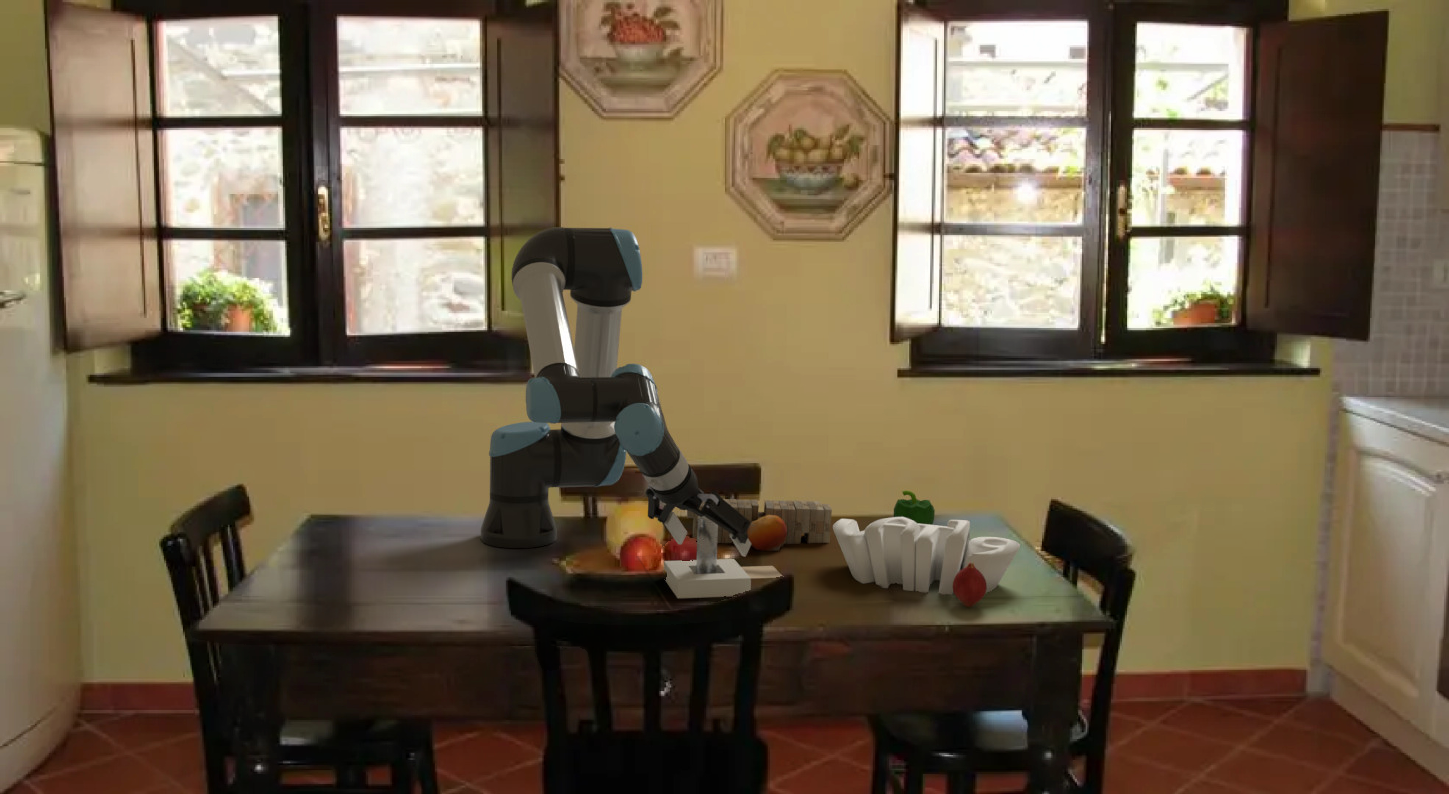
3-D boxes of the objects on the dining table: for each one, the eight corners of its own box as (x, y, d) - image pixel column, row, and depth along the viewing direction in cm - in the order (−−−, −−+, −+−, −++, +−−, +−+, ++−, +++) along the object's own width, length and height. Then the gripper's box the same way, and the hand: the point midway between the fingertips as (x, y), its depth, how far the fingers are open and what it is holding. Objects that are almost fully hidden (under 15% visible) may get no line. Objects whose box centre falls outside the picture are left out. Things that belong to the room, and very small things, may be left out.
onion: (948, 602, 244) (950, 557, 243) (980, 602, 244) (982, 558, 243) (956, 612, 238) (958, 566, 237) (989, 612, 239) (991, 566, 238)
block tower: (824, 541, 289) (684, 533, 288) (827, 501, 288) (687, 494, 287) (829, 550, 282) (685, 543, 280) (832, 509, 281) (687, 502, 279)
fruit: (792, 549, 272) (773, 513, 272) (758, 566, 274) (738, 531, 273) (798, 539, 280) (779, 504, 279) (765, 556, 281) (746, 522, 281)
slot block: (663, 579, 253) (664, 561, 252) (733, 577, 256) (733, 558, 255) (677, 600, 240) (678, 580, 240) (750, 597, 243) (750, 578, 243)
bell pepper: (939, 537, 291) (942, 490, 289) (923, 545, 284) (925, 497, 282) (903, 531, 295) (905, 485, 294) (886, 538, 288) (888, 491, 287)
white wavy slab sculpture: (816, 580, 256) (819, 524, 254) (839, 559, 271) (842, 506, 269) (1008, 604, 244) (1011, 545, 243) (1021, 580, 259) (1024, 525, 258)
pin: (694, 586, 249) (695, 515, 247) (713, 585, 250) (715, 515, 248) (698, 591, 246) (700, 520, 244) (717, 591, 246) (720, 519, 245)
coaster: (731, 569, 261) (731, 567, 261) (772, 567, 263) (772, 565, 263) (741, 580, 253) (741, 578, 253) (783, 579, 255) (783, 577, 255)
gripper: (600, 482, 238) (648, 550, 253) (723, 503, 226) (766, 573, 240) (618, 448, 242) (665, 516, 257) (741, 466, 229) (782, 537, 244)
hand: (714, 544), depth 249 cm, fingers open, 13 cm apart
